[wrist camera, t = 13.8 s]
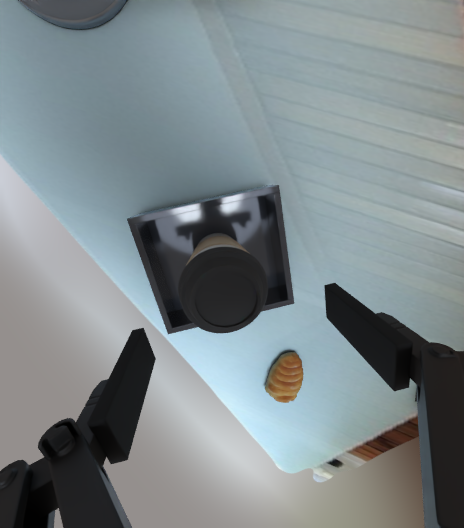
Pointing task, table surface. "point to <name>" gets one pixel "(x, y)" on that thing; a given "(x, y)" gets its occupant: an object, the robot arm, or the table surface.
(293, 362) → the pastry
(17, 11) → the table surface
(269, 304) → the dark grey open box
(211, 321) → the coffee cup
